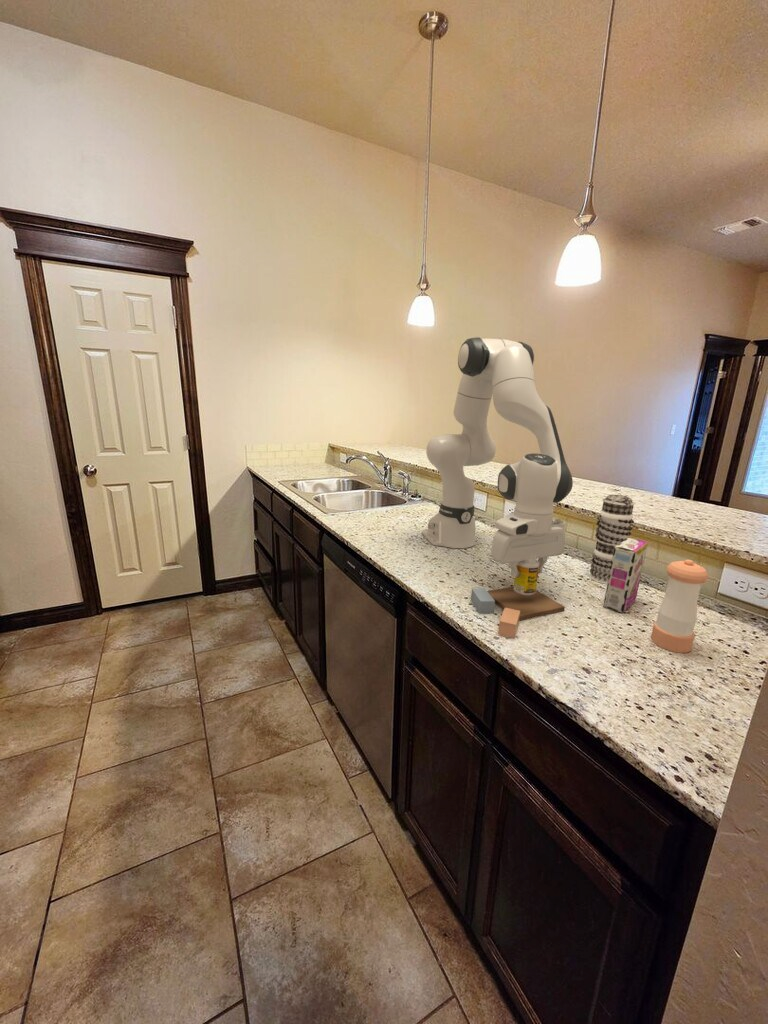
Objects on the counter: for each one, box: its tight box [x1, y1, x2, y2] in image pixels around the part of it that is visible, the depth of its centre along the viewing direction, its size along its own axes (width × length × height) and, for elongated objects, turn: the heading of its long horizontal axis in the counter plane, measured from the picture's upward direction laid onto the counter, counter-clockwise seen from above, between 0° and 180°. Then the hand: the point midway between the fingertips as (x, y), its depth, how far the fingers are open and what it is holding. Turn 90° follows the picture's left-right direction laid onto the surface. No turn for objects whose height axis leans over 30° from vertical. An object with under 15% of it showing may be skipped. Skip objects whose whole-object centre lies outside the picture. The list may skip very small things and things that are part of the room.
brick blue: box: [470, 587, 496, 615], centre depth 103 cm, size 7×4×4 cm, turn 6°
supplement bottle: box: [512, 556, 539, 595], centre depth 103 cm, size 6×6×10 cm
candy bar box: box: [602, 537, 649, 614], centre depth 104 cm, size 11×5×16 cm, turn 135°
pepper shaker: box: [650, 559, 709, 654], centre depth 86 cm, size 7×7×19 cm
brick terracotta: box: [497, 608, 520, 639], centre depth 93 cm, size 7×4×4 cm, turn 155°
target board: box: [487, 585, 566, 622], centre depth 105 cm, size 14×14×1 cm
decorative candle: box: [588, 494, 636, 585], centre depth 118 cm, size 9×9×25 cm
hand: (526, 574), depth 103 cm, fingers closed on supplement bottle, 5 cm apart
